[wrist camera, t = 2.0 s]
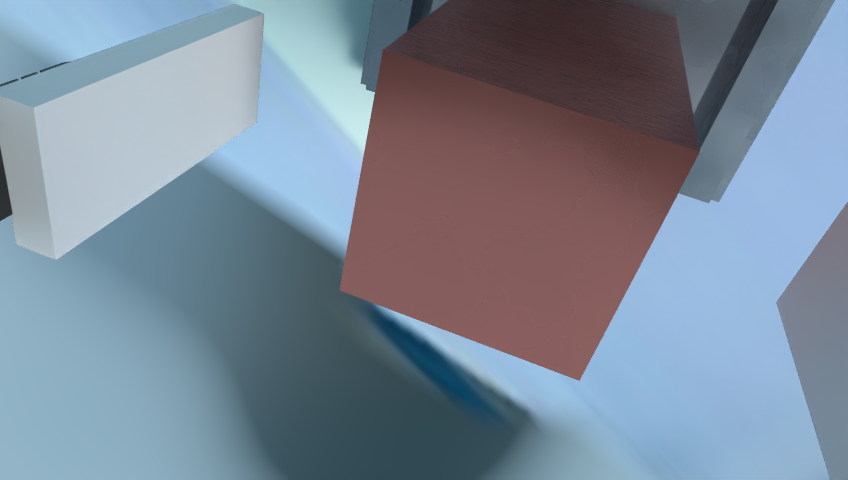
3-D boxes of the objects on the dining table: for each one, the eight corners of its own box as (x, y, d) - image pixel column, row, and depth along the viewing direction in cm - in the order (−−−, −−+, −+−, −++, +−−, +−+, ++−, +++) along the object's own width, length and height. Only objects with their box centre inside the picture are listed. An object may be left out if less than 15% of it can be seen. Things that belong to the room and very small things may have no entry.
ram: (485, -164, 17) (314, -179, 8) (775, -85, 16) (930, -8, 7) (423, 107, 22) (270, 283, 13) (645, 181, 21) (645, 426, 12)
